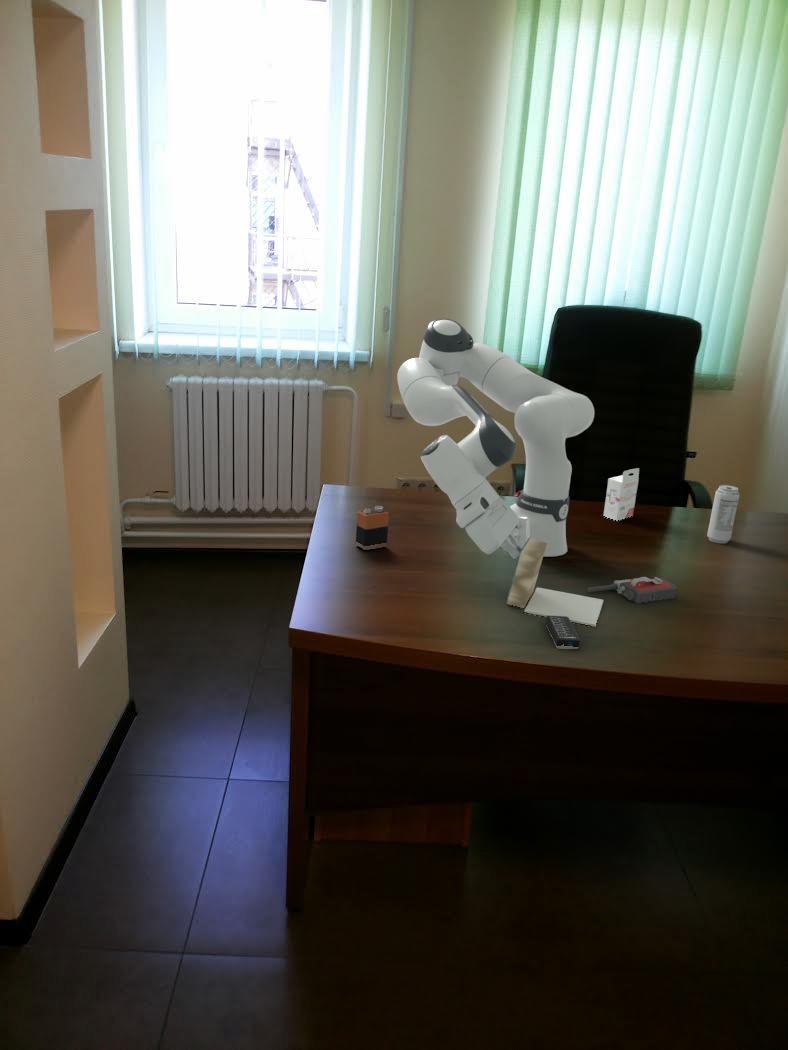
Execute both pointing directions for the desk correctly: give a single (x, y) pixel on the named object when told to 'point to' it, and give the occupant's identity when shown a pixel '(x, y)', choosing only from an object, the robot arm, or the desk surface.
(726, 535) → the energy drink can
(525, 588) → the beige rectangular block
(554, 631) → the multiport hub
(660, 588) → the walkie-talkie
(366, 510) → the battery
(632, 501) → the ink cartridge box
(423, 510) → the desk surface
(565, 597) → the mat
